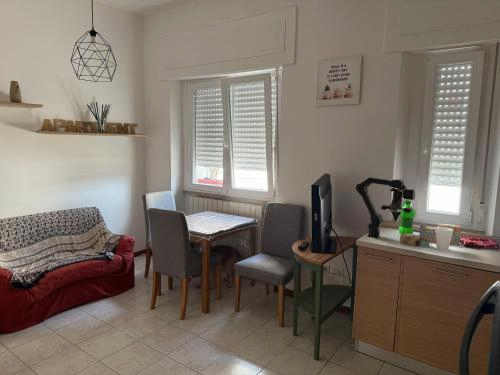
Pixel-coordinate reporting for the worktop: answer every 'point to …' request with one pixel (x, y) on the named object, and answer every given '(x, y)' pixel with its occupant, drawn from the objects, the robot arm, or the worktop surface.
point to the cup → (424, 243)
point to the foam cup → (443, 238)
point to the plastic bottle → (406, 220)
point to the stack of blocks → (455, 238)
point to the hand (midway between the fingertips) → (395, 221)
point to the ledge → (410, 239)
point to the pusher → (422, 230)
